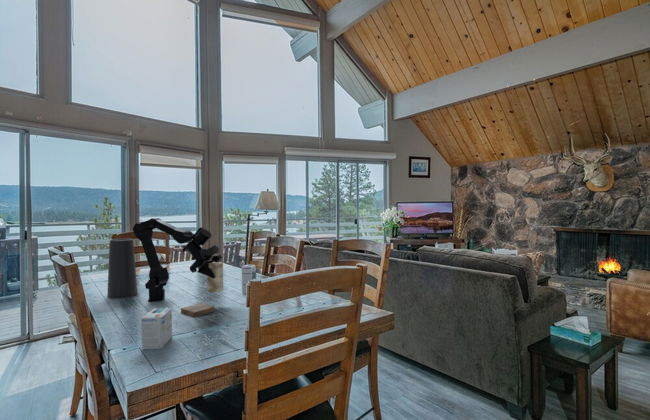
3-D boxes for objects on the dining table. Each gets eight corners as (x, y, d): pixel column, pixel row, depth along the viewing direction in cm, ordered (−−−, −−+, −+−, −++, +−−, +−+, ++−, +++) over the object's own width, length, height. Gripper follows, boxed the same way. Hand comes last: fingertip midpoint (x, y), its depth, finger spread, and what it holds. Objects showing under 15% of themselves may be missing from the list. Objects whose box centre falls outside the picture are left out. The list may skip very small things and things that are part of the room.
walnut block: (180, 313, 158) (180, 308, 158) (200, 308, 166) (200, 302, 166) (194, 318, 152) (194, 312, 152) (214, 312, 160) (214, 306, 160)
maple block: (207, 291, 167) (207, 263, 167) (213, 289, 172) (213, 262, 172) (217, 292, 166) (216, 264, 166) (223, 289, 171) (222, 262, 170)
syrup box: (252, 294, 188) (252, 266, 188) (241, 293, 189) (241, 266, 189) (256, 291, 194) (256, 264, 193) (246, 291, 195) (245, 264, 194)
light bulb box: (153, 337, 129) (152, 307, 129) (172, 337, 130) (172, 307, 130) (140, 350, 119) (140, 317, 118) (162, 349, 119) (161, 316, 119)
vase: (101, 297, 184) (99, 240, 183) (124, 290, 197) (123, 237, 196) (120, 299, 179) (119, 241, 178) (143, 293, 192) (142, 238, 191)
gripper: (195, 242, 160) (217, 268, 158) (218, 238, 178) (238, 261, 176) (180, 259, 163) (201, 285, 160) (205, 253, 181) (224, 276, 178)
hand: (217, 276), depth 168 cm, fingers closed on maple block, 5 cm apart
